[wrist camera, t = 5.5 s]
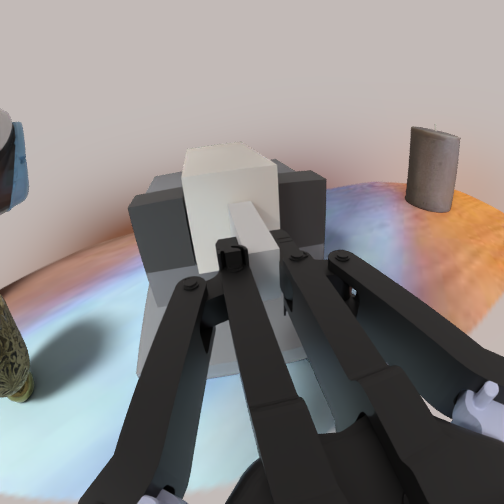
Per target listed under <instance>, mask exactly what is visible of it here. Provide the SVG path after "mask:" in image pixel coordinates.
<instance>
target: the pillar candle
mask: <svg viewBox="0 0 504 504" xmlns="http://www.w3.org/2000/svg"><path fill="white" fill-rule="evenodd" d="M459 144H460V138H459V137H457V136H455V135H451V134H448V133H444V132H441V131H437V130H436V124H435V130H432V129H427V128H422V127H411V141H410V156H409V168H408V179H407V189H406V196H405V199H406V201H407V202H409V203H410V204H412V205H414V206H416V207H418V208H421V209H424V210H427V211H432V212H441V213H442V212H448V211H449V210H450V209H451V204H452V199H453V193H454V187H455V180H456V174H457V166H458V165H457V164H458V156H459V146H460V145H459Z"/></svg>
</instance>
